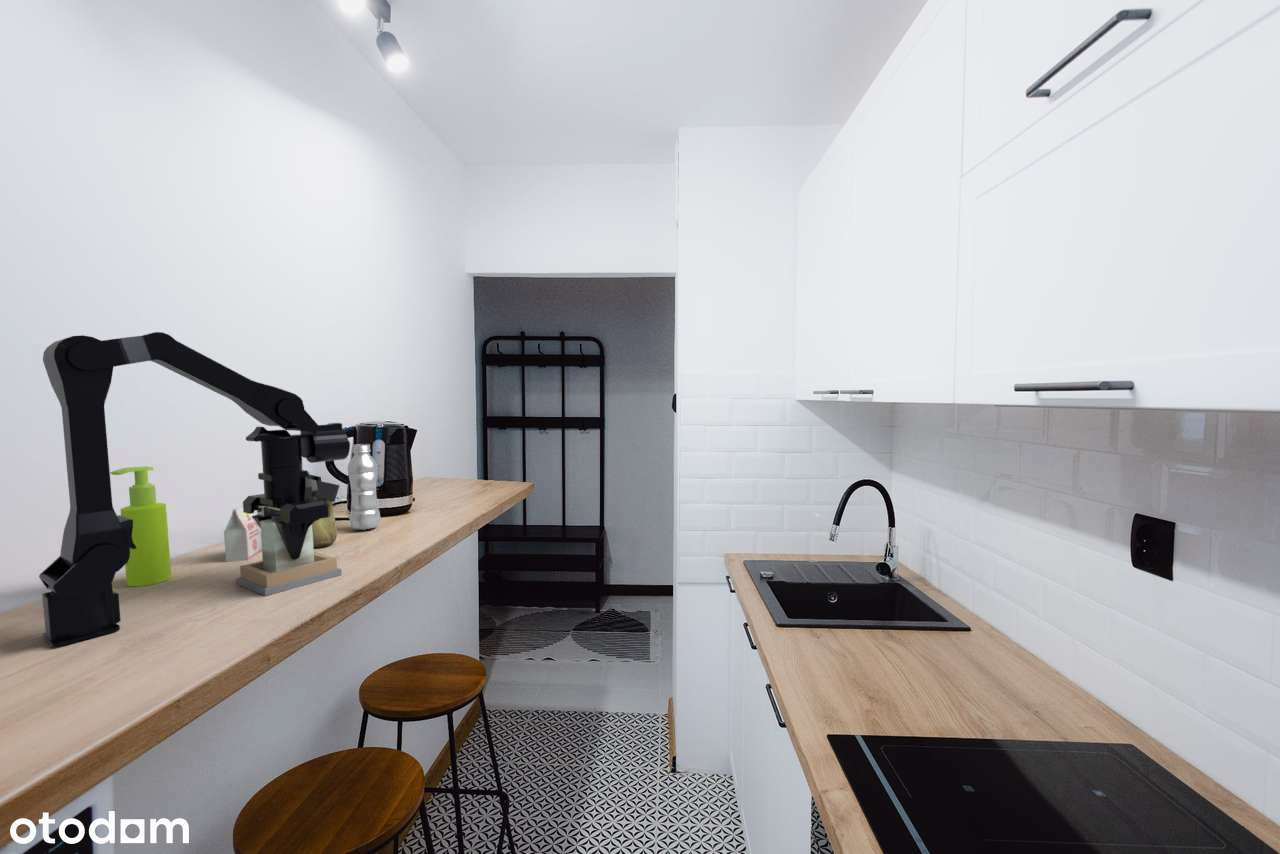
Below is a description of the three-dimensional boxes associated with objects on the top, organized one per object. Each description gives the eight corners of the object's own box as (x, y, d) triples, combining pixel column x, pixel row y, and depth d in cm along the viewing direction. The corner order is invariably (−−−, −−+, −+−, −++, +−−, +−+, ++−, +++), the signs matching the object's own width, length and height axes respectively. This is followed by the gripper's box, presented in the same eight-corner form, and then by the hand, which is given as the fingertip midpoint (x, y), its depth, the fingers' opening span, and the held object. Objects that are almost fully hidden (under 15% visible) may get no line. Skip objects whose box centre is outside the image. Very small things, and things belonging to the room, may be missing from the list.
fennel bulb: (300, 548, 117) (297, 491, 117) (319, 542, 122) (316, 487, 121) (324, 549, 116) (320, 491, 115) (342, 543, 121) (338, 487, 120)
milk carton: (226, 562, 109) (222, 510, 108) (241, 552, 116) (238, 504, 115) (247, 560, 110) (244, 509, 109) (261, 550, 116) (258, 502, 116)
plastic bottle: (343, 532, 130) (338, 446, 129) (362, 525, 137) (358, 443, 136) (369, 533, 129) (364, 446, 128) (387, 526, 136) (382, 443, 135)
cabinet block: (276, 578, 93) (273, 519, 93) (263, 573, 96) (259, 516, 96) (314, 568, 98) (311, 512, 98) (300, 564, 101) (297, 509, 101)
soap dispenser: (110, 587, 95) (101, 469, 94) (156, 574, 102) (147, 464, 101) (135, 590, 94) (125, 470, 92) (179, 576, 100) (171, 464, 99)
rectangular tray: (265, 595, 89) (264, 577, 89) (236, 583, 96) (235, 566, 95) (341, 574, 99) (340, 557, 99) (310, 565, 105) (309, 549, 105)
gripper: (358, 463, 97) (363, 552, 98) (306, 458, 108) (310, 539, 109) (288, 471, 88) (294, 570, 89) (239, 465, 99) (244, 553, 100)
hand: (288, 556), depth 97 cm, fingers closed on cabinet block, 5 cm apart
